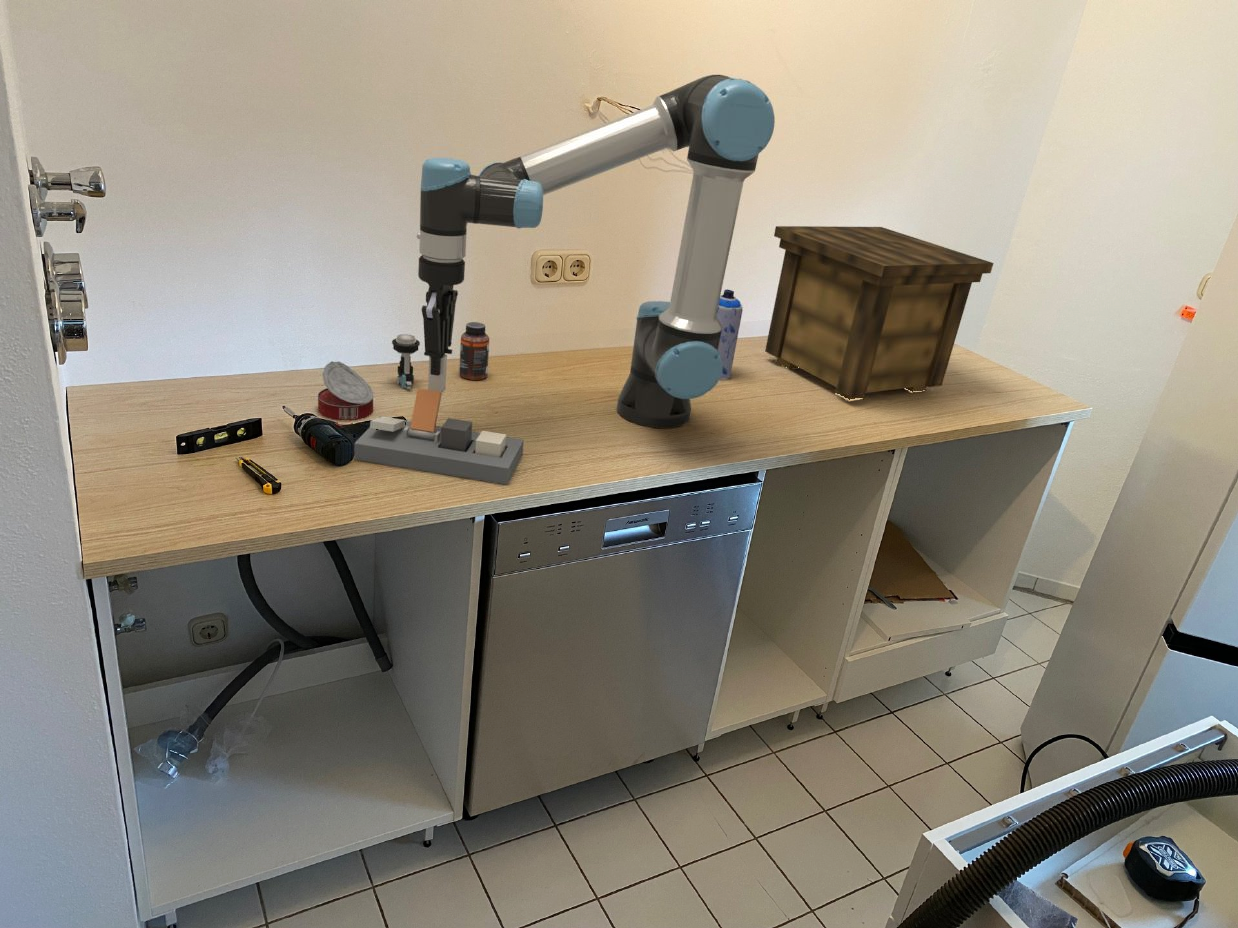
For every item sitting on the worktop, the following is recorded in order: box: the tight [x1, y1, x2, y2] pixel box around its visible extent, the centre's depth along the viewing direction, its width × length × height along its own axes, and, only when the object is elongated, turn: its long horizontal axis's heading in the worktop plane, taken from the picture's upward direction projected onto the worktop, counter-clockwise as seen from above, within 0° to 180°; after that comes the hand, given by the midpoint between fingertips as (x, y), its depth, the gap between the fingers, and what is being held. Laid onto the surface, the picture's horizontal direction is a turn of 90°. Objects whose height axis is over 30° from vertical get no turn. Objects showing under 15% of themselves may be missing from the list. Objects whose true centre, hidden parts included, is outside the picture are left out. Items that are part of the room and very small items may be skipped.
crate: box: [764, 225, 994, 400], centre depth 216 cm, size 35×35×33 cm
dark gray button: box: [440, 417, 473, 452], centre depth 154 cm, size 4×4×4 cm
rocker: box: [369, 416, 406, 432], centre depth 155 cm, size 4×6×1 cm, turn 173°
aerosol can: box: [716, 288, 743, 382], centre depth 208 cm, size 8×8×20 cm
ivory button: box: [475, 430, 507, 458], centre depth 154 cm, size 4×4×4 cm
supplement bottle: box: [458, 321, 490, 381], centre depth 190 cm, size 6×6×11 cm
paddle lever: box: [408, 387, 443, 439], centre depth 155 cm, size 4×1×8 cm, turn 84°
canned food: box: [317, 360, 374, 422], centre depth 168 cm, size 11×10×10 cm
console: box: [353, 416, 525, 485], centre depth 155 cm, size 26×12×4 cm, turn 83°
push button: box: [391, 333, 421, 390], centre depth 181 cm, size 7×5×10 cm
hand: (436, 389), depth 160 cm, fingers closed
